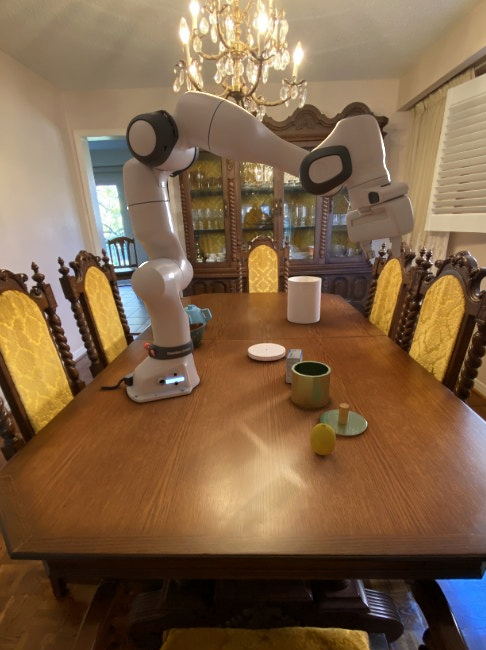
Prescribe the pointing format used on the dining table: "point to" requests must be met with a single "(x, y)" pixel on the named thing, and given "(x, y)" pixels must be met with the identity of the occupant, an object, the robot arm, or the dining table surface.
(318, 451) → the lemon
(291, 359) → the medicine box
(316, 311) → the canister
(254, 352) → the plastic lid
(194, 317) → the teapot
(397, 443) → the dining table surface
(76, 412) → the dining table surface
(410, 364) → the dining table surface
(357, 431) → the lid
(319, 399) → the tin
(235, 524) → the dining table surface
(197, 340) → the dark green pot
